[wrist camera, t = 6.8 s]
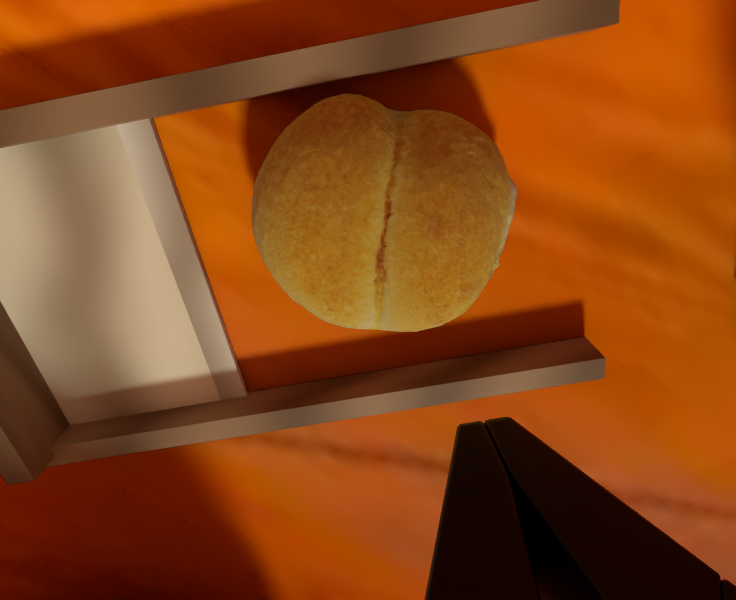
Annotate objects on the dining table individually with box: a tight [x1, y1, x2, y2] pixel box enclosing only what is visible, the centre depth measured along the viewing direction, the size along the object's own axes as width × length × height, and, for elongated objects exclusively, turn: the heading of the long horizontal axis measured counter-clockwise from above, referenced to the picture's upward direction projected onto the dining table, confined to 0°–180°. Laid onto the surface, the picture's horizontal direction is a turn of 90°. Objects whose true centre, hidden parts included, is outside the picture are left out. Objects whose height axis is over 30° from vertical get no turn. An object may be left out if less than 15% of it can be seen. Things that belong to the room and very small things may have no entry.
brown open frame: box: [0, 0, 620, 485], centre depth 17 cm, size 25×14×3 cm, turn 100°
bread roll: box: [252, 93, 517, 332], centre depth 16 cm, size 8×9×4 cm
